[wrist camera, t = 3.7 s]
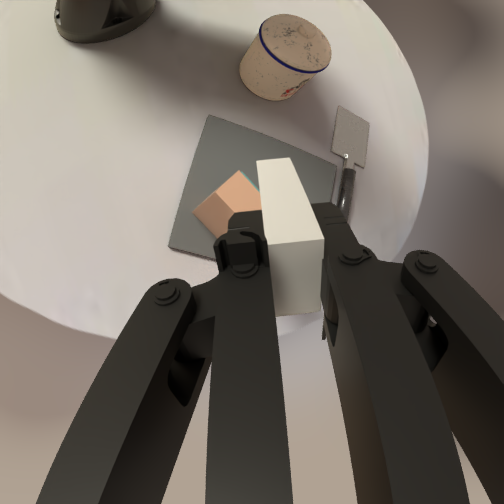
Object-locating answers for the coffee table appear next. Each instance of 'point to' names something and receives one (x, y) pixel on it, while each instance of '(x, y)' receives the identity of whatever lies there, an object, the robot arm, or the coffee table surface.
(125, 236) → the coffee table surface
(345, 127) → the turner
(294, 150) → the mat
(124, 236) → the coffee table surface
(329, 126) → the coffee table surface
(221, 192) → the tile
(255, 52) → the teacup with lid
